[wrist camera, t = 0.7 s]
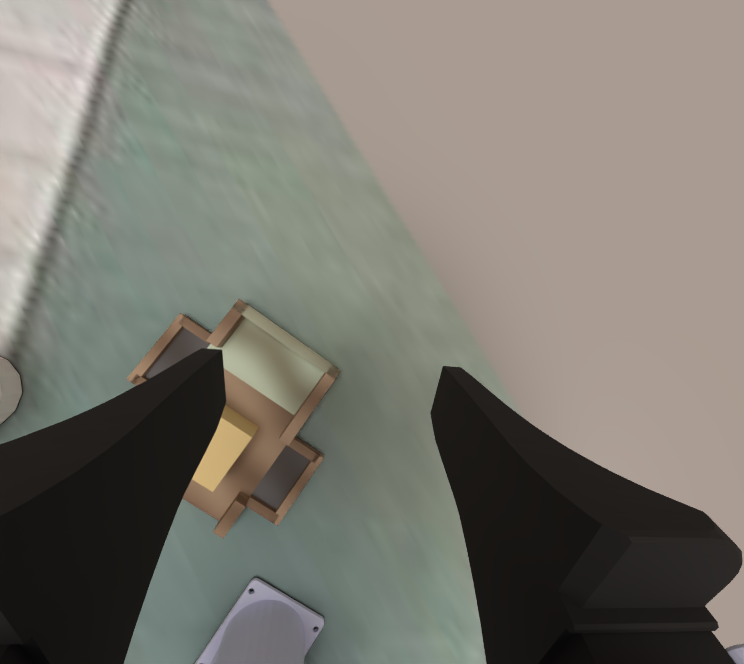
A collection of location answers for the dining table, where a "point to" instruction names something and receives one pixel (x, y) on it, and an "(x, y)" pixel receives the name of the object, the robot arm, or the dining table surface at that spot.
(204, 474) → the block
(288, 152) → the dining table surface
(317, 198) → the dining table surface
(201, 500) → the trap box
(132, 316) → the dining table surface
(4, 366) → the white cup
